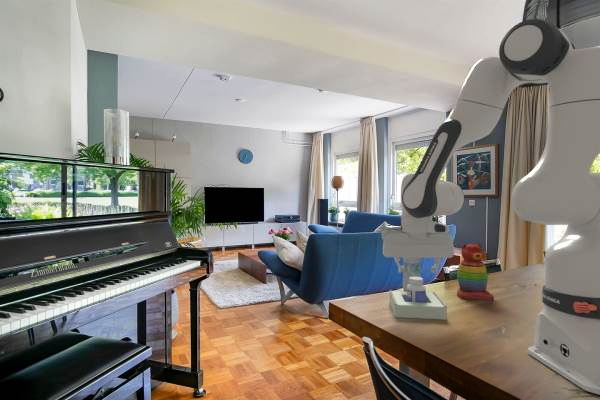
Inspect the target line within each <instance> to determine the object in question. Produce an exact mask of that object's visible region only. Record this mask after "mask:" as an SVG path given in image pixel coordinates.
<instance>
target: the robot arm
mask: <svg viewBox="0 0 600 400" xmlns="http://www.w3.org/2000/svg"><path fill="white" fill-rule="evenodd" d="M498 49H499V50H498V56H488V57H484V58H482V59H479V60H478V61H477V62H476V63H475V64H473V66H472V68H471V70H470V71H469V73H468V75H467V77H466V78H465V81H464V83H463V84H462V87H461V89H460V91H459V94H458V96H457V97H456V100H455V103H454V105H453V108H452V110H451V111H450V113H449V115H448V117H447V118H446V120H444V122H443V123H441V125H440V126H439V127H438V128H437V130H436V131H435V133H434V135H433V136H432V139H431V141H430V143H429V145H428V146H427V148H426V151H425V153H424V155H423V156H422V159H421V161H420V163H419V165H418V166H417V168H416V171H415V172H411V173H408V174H405V175H404V177H402V180H401V185H400V204H401V207H402V209H401V215H400V223H401V226H386V227H384V228H383V229H382V230H381V240H382V241H383V242H382V254H383V256H384V257H385V258H394V262H395V263H396V265H397V268H398V273H401V274H403V273H404V266H403V265H401V264H400V262H401V258H402V257H404V258H423V259H426V258H428V259H429V258H430V259H434V261H435V262H434V264H433V265H432V266H430V272H431V273H432V274H438V268H439V266H440V264H441V263H442V259H452V258H453V257H454V256H455V246H454V241H453V236H452V235H451V234H450V226H449V225H447V224H443V223H441V222H438V221H434V220H433V217H440V216H452V215H454V214H456V213H459V212H460V211H461V209H462V208H463V205H464V203H465V195H464V194H465V193H464V191H463V189H462V187H461V186H460V185H459V184H458V183H455V182H452V181H446V180H443V179H441V178H442V176H443V174H444V172H445V170H446V168H447V167H448V165H449V162H450V160H451V158H452V157H453V156H454V154H455V153H456V152H457V151H458V150H460V149H461V148H462V147H464V146H466V145H468V144H471V143H473V142H476V141H479V140H482V139H483V138H486V137H488V135H490V134H491V133H492V132H493V130H494V129H495V127H496V126H497V124H498V122H499V120H500V119H501V117H502V114H503V112H504V109H505V107H506V104H507V101H508V99H509V97H510V95H511V93H512V92H513V91H514V90H515V89H516V88H517V87H519V88H525V89H526V88H530V87H542V86H548V87H549V95H550V97H549V112H548V113H549V114H548V125H547V136H546V137H547V138H546V142H545V146H544V150H543V152H542V154H541V155H540V159H538V161H537V163H536V165H535V166H534V167H533V168H532V170H531V171H529V172H528V173H527V174H526V175H525V176H523V177H522V178H520V179H519V180H518V181H517V182H516V184H515V185H514V186H513V189H512V191H511V196H510V201H511V206H512V209H513V211H514V212H515V214H516V215H517V216H518V218H520V219H521V220H522V221H526V222H531V223H535V224H540V225H544V226H545V225H546V226H557V225H558V226H565V225H567V226H566V230H565V231H564V234H563V236H562V237H561V238H560V239H559V240H557V242H554V244H552V245H550V246H549V247H548V248H547V250H546V251H545V254H544V285H543V286H542V291H541V297H542V299H541V301H542V303H543V304H544V305H543V307H542V309H541V310H540V312H538V314H537V315H536V316H535V317H536V318H535V319H536V320H535V328H534V337H533V338H534V339H533V345H531V346H529V347H528V348H527V354H528V355H530V356H531V357H532V358H534V359H536V360H537V361H539V362H540V363H542V364H544V365H545V366H546V367H548V368H549V369H552V370H553V371H555V372H556V373H558V374H559V375H560V376H562V377H563V378H565V379H567V380H569V381H570V382H571V383H573V384H574V385H576V386H577V387H578V388H581V389H582V390H584V391H586V392H590V393H592V394H594V395H595V394H596V395H599V396H600V172H591V170H592V169H591V168H592V166H593V163H594V162H595V160H596V159H597V158H598V156H599V155H600V47H595V46H594V47H587V48H582V49H576V47H575V46H574V44H573V43H572V41H570V39H569V37H568V36H567V34H566V33H565V32H564V31H562V29H560V28H558V27H557V26H556V25H555V24H554V23H553V22H551V21H549V20H547V19H546V20H545V19H542V18H530V19H527V20H526V19H525V20H524V21H521V22H518V23H517V24H515V25H514V26H513V27H511V28H510V29H509V30H507V32H506V33H505V34H504V36H503V37H502V39H501V42H500V45H499V48H498Z"/></svg>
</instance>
